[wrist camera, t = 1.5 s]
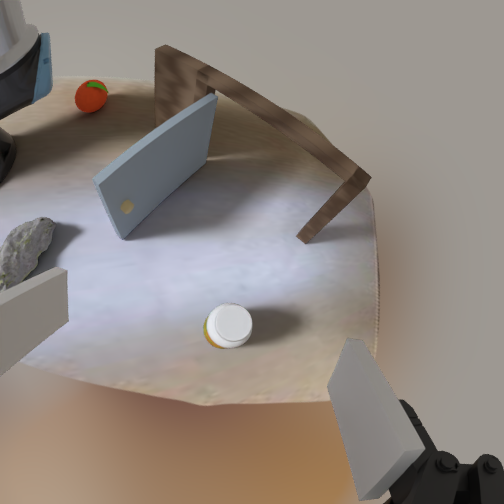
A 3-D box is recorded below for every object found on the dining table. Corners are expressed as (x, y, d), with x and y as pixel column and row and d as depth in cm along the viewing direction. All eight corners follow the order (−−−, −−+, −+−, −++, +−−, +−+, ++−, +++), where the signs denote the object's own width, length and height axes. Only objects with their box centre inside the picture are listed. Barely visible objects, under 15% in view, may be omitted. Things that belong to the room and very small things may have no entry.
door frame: (155, 129, 48) (155, 49, 31) (163, 123, 49) (165, 44, 32) (305, 244, 47) (365, 186, 30) (311, 235, 47) (371, 177, 31)
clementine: (119, 99, 49) (116, 73, 42) (104, 121, 46) (98, 95, 40) (88, 96, 48) (83, 71, 41) (72, 117, 45) (65, 93, 38)
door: (196, 156, 47) (206, 89, 33) (209, 165, 47) (223, 99, 33) (113, 231, 39) (87, 174, 26) (126, 244, 39) (103, 189, 26)
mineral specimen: (44, 211, 38) (28, 190, 32) (66, 236, 38) (51, 217, 32) (-11, 279, 32) (-32, 267, 26) (9, 309, 32) (-13, 300, 25)
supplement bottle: (199, 314, 39) (204, 302, 30) (236, 307, 41) (252, 293, 32) (207, 352, 37) (215, 352, 29) (245, 344, 39) (264, 341, 30)
